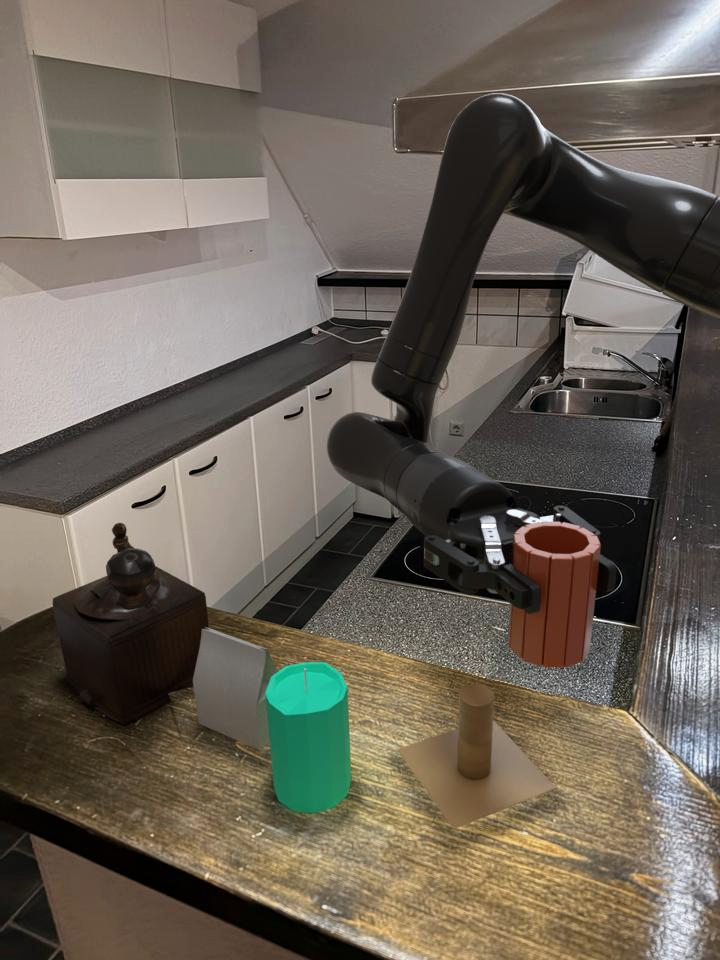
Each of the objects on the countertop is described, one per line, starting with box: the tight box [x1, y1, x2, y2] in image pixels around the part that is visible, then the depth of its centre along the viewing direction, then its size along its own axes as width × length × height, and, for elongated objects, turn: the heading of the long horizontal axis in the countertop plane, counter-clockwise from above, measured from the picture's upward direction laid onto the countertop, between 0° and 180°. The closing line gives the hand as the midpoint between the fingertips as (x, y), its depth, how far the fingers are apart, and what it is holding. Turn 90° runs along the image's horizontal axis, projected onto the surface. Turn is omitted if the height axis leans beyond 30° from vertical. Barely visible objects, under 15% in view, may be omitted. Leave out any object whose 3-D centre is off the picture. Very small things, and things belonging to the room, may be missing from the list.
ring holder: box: [397, 683, 557, 830], centre depth 59 cm, size 9×9×8 cm
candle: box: [265, 661, 352, 814], centre depth 57 cm, size 6×6×12 cm
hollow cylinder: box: [507, 521, 602, 669], centre depth 57 cm, size 6×6×9 cm
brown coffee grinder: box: [52, 522, 210, 726], centre depth 69 cm, size 16×11×18 cm
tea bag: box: [193, 627, 279, 751], centre depth 64 cm, size 4×7×10 cm, turn 59°
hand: (575, 590), depth 54 cm, fingers closed on hollow cylinder, 6 cm apart
